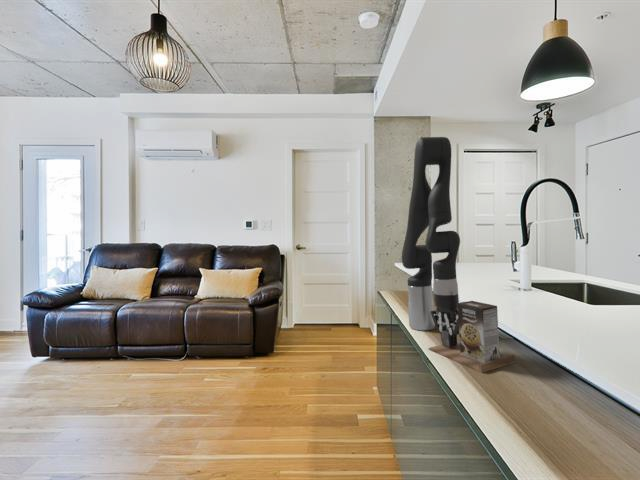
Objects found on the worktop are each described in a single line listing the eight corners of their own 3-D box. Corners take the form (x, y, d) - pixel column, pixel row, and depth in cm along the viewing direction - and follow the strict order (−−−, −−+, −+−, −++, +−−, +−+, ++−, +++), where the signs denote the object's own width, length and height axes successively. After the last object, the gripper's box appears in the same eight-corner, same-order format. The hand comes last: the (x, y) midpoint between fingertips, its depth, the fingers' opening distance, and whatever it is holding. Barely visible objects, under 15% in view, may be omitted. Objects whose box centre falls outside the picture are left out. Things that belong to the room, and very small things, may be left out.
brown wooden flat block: (428, 349, 107) (427, 332, 107) (458, 342, 112) (457, 326, 112) (481, 372, 88) (480, 352, 88) (515, 362, 93) (514, 343, 93)
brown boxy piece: (459, 355, 99) (456, 303, 99) (474, 351, 102) (471, 299, 102) (485, 366, 91) (481, 308, 91) (501, 360, 93) (497, 304, 93)
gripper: (422, 290, 112) (425, 340, 113) (453, 296, 99) (456, 353, 100) (439, 287, 115) (442, 336, 115) (471, 293, 102) (475, 348, 102)
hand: (449, 343), depth 108 cm, fingers closed on brown wooden flat block, 3 cm apart
